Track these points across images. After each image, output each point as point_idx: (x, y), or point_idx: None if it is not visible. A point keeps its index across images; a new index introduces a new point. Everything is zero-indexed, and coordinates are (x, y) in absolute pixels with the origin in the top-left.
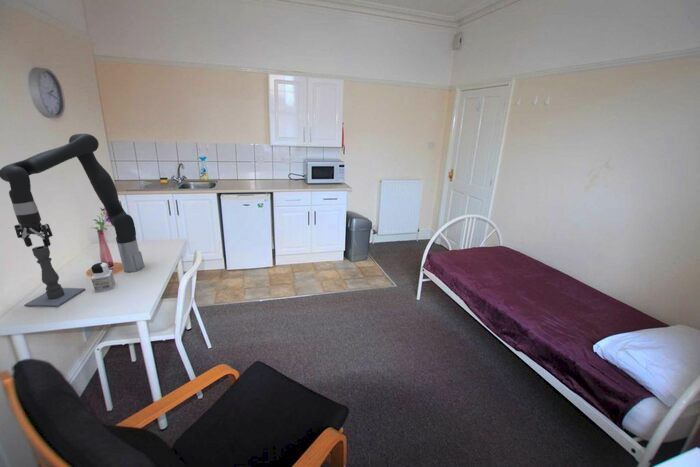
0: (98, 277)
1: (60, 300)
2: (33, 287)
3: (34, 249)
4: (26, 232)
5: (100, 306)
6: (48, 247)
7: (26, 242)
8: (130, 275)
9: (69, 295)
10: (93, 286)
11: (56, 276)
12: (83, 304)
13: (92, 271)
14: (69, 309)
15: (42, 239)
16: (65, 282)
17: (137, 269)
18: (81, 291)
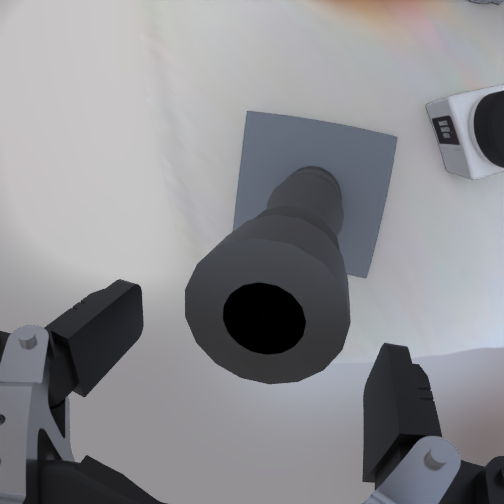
0: (498, 172)
1: (355, 239)
2: (147, 92)
3: (239, 363)
4: None
5: (497, 292)
6: (344, 284)
7: (108, 368)
8: (496, 36)
9: (368, 200)
10: (456, 173)
11: (342, 219)
12: (445, 269)
13: (485, 151)
14: (413, 297)
15: (365, 481)
16: (246, 47)
17: (501, 2)
18: (392, 159)
